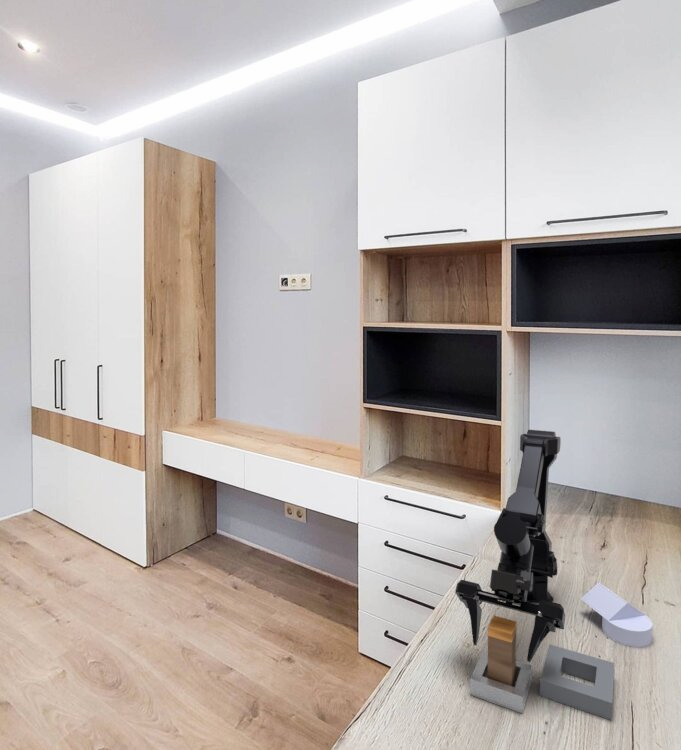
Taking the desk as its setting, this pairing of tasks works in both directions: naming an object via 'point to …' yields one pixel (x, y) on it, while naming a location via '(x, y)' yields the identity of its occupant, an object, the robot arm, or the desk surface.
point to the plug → (502, 650)
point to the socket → (573, 691)
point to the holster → (501, 685)
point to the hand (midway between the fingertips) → (500, 652)
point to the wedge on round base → (619, 617)
